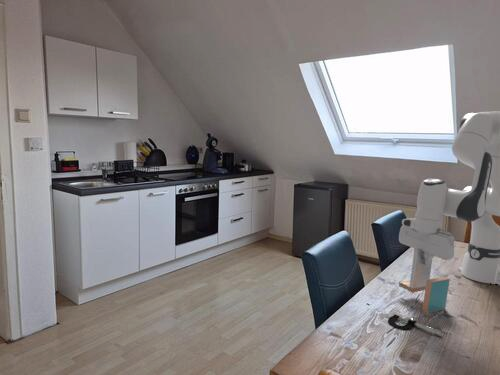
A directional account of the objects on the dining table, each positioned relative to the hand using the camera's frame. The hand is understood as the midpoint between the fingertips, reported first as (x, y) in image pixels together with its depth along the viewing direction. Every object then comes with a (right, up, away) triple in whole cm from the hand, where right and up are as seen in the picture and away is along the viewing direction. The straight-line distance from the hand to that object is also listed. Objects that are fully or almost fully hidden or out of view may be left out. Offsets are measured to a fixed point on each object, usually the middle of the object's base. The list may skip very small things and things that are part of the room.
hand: (422, 263), depth 131 cm
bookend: (-2, -10, +4) cm, 10 cm away
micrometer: (-11, -17, -18) cm, 27 cm away
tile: (+2, -15, -4) cm, 16 cm away
